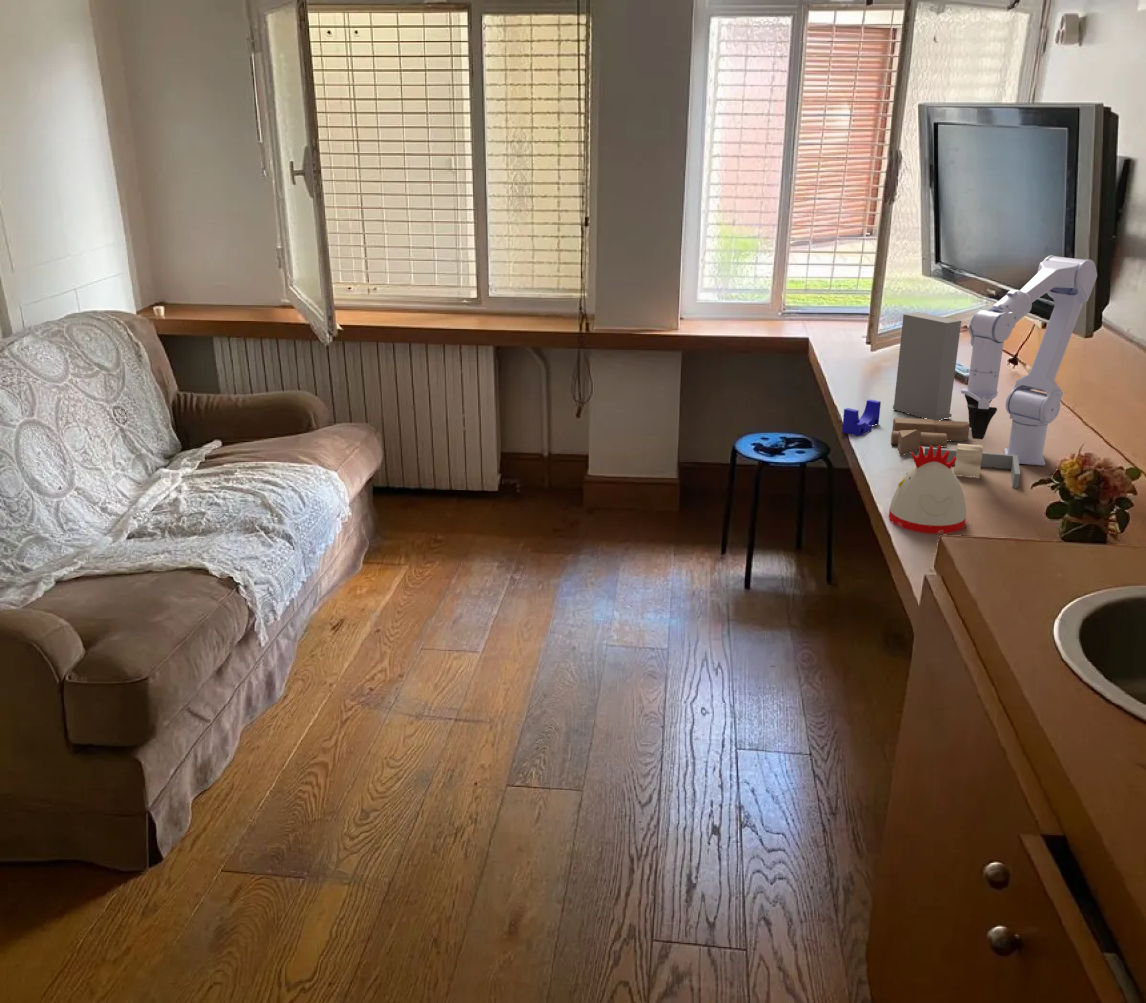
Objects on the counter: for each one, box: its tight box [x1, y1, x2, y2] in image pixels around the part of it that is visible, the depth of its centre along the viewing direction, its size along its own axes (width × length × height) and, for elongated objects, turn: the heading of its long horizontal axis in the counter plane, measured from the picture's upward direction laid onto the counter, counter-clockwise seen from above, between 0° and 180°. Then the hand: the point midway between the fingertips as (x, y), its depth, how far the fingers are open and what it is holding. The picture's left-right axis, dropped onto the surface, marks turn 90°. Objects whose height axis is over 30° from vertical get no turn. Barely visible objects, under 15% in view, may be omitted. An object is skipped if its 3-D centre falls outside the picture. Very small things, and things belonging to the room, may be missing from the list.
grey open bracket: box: [922, 446, 1021, 489], centre depth 219 cm, size 13×20×3 cm, turn 70°
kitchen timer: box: [888, 445, 967, 535], centre depth 192 cm, size 14×14×15 cm
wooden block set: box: [890, 417, 971, 457], centre depth 236 cm, size 17×6×18 cm
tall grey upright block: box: [892, 311, 962, 420], centre depth 257 cm, size 14×6×25 cm, turn 31°
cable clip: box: [841, 399, 882, 437], centre depth 249 cm, size 12×4×6 cm, turn 135°
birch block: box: [953, 443, 984, 478], centre depth 218 cm, size 4×5×6 cm
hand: (976, 433), depth 215 cm, fingers open, 7 cm apart
